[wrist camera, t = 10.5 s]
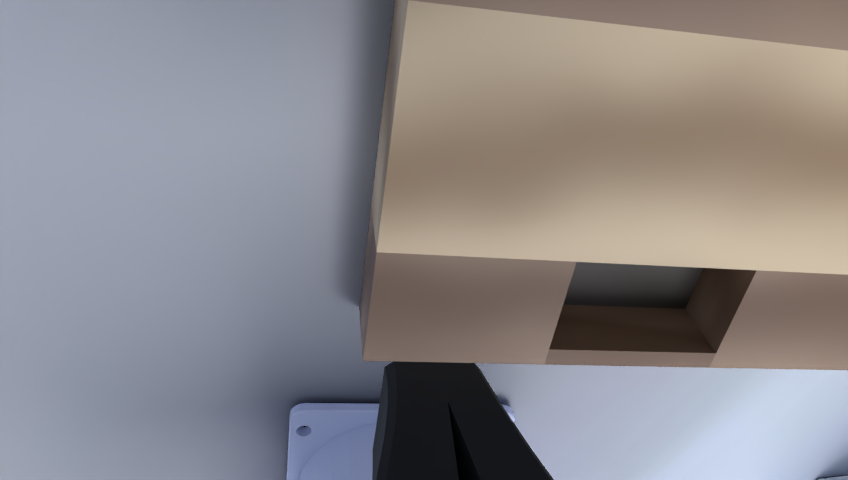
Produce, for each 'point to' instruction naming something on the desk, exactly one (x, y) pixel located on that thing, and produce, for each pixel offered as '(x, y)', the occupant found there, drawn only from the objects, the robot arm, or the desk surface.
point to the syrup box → (836, 478)
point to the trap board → (612, 185)
